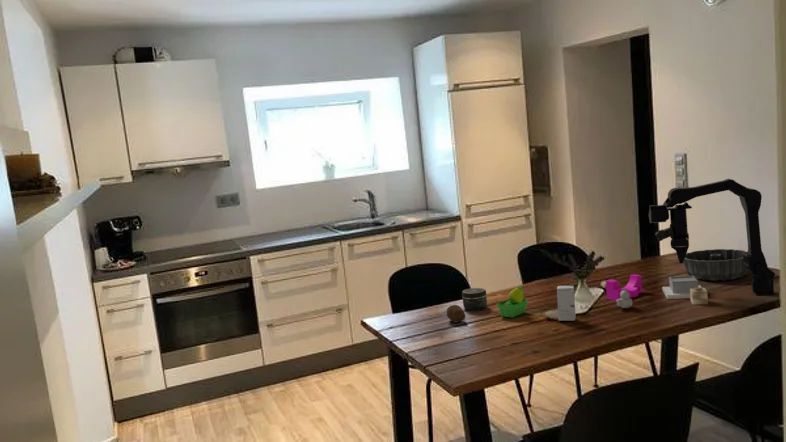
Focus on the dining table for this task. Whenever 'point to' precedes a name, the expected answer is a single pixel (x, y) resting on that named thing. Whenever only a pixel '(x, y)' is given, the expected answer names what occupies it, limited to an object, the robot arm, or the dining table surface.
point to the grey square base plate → (680, 287)
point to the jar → (474, 299)
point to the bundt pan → (716, 264)
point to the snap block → (698, 296)
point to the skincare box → (566, 303)
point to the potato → (455, 313)
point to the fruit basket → (513, 304)
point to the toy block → (632, 287)
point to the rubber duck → (624, 299)
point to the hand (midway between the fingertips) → (681, 260)
